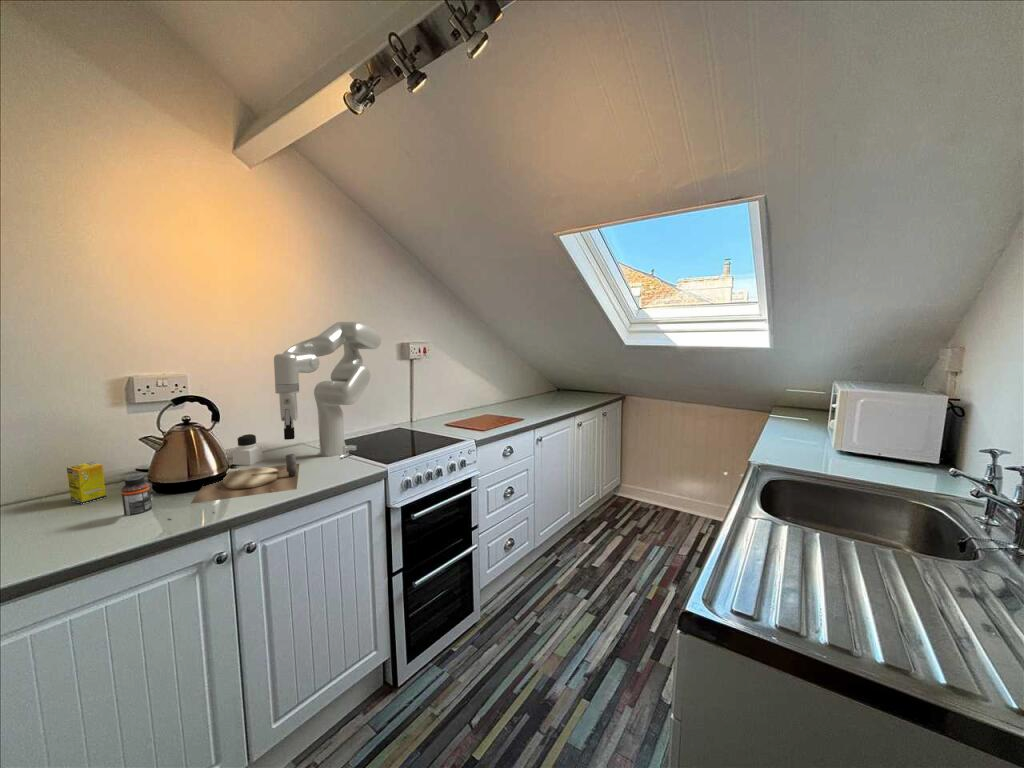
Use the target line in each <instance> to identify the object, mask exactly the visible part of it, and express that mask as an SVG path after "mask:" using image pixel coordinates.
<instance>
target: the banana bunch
mask: <svg viewBox="0 0 1024 768" xmlns="http://www.w3.org/2000/svg"><path fill="white" fill-rule="evenodd" d="M296 460H297V458H296V454H295V453H289V454H286V455H285V465H286V469H287V470H282V471H278V470H277V469H275V468H268V467H269V466H267V467H263V466H262V467H251V468H247V469H240V470H241V471H238V470H236V471H237V472H234V473H231V474H229V475H227V476H225V477H224V478H223V485H224V486H225V487H227V488H232V489H243V488H251V487H257V486H261V485H265V484H268V483H270V482H273V481H275V480H276V479H277V478H279V477H287V476H294V475H296V474H297V473H296V464H297V461H296Z"/></svg>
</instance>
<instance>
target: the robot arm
mask: <svg viewBox="0 0 1024 768" xmlns="http://www.w3.org/2000/svg"><path fill="white" fill-rule="evenodd" d="M381 338H382V337H381V335H380V333H379V332H378V330H377V329H376V330H375V329H374V328H371V327H370V326H368V325H366V324H363V323H361V322H359V321H338V322H335V323H334V324H332V325H330V326H329V327H328V328H327V329H325V330H324V331H322V332H321V333H320V334H318V335H316V336H314V337H311V338H308V339H306V340H302V341H300V342H298V343H296V344H294V345H291V346H290V347H289V348H287V349H286V350H285V351H283V352H282V353H277V354H275V355H274V356H273V367H274V370H273V371H274V391H275V394H278V395H279V397H278V398H279V411H280V419H281V422H283V426H284V427H283V436H284V437H283V438H284V440H285V441H287V440H294V439H295V435H296V434H295V426H294V421H297V420H298V416H299V414H298V400H297V393H300V375H299V374H311V373H314V372H316V371H317V370H318V369H319V366H320V360H319V359H320V358H319V357H324V356H328V355H331V354H333V353H334V352H335V351H337V350H338V349H339V348H341V347H342V346H343V356H342V358H341V359H340V360H339V362H338V363H337V364H336V366H334V368H333V369H332V371H331V373H330V380H322V381H320V382H318V383H317V384H316V385H315V387H314V389H313V395H314V401H315V403H316V404H315V405H316V408H317V417H318V437H319V438H318V441H319V452H317V454H316V456H322V457H336V456H339V458H340V459H341V458H342V459H345V458H346V456H347V457H349V455H350V452H349V451H357V445H353V444H350V445H347V444H346V442H345V426H344V424H345V423H344V412H343V409H342V406H351V405H354V404H355V403H356V402H357V401H358V400H359V399H360V396H361V395H362V394H363V392H364V391H365V389H366V388H367V387H368V384H369V382H370V378H371V372H370V369H369V368H368V367H367V366H366V365H364V364H363V361H364V359H363V357H362V355H361V353H360V350H375V349H378V348H379V347H380V345H381V344H382V343H381V342H382V339H381ZM344 457H345V458H344Z"/></svg>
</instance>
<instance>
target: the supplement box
mask: <svg viewBox="0 0 1024 768" xmlns="http://www.w3.org/2000/svg"><path fill="white" fill-rule="evenodd" d="M66 472H67V480H68V481H67V482H68V486H69V487H68V489H69V494H70V502H72V501H75V502H74V503H76V502H79V503H78V504H80V503H82V504H83V503H86V502H90V501H93V500H96V501H98V500H97V499H100V498H103V499H105V498H104V497H106V498H107V494H106V486H105V478H104V477H105V476H104V467H103V464H101V463H95V462H92V461H89V462H83V463H81V464H75V465H72V466H68V467H66ZM100 500H101V499H100ZM93 502H94V501H93ZM90 503H91V502H90ZM82 504H81V505H82ZM86 504H87V503H86ZM83 505H84V504H83Z"/></svg>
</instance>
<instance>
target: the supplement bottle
mask: <svg viewBox="0 0 1024 768" xmlns="http://www.w3.org/2000/svg"><path fill="white" fill-rule="evenodd" d="M120 492H121V498H122V506H123V507H122V508H123V515H125V516H136V515H140V514H144V513H147V512H149V511H151V510H152V509H153V506H152V503H153V502H152V497H151V488H150V484H149V482H147V481H145V477H144V475H141V474H140V475H132V476H128V477H126V478H124V485H123V486H122V488H121V491H120Z"/></svg>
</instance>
